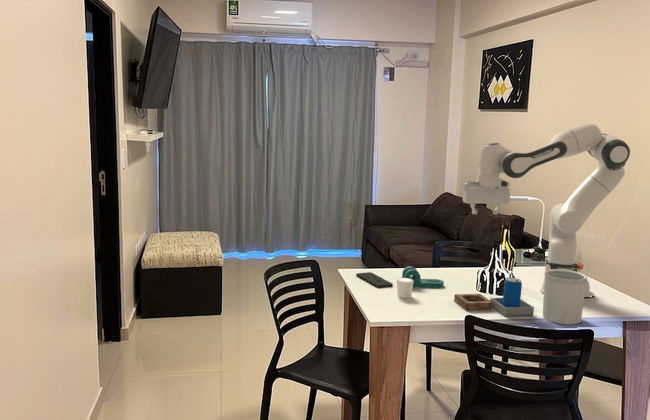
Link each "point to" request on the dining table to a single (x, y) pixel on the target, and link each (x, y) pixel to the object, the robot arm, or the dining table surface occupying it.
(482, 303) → the walnut collar block
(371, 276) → the smart home device
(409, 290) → the shot glass
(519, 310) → the slate tray
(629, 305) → the dining table surface
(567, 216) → the robot arm
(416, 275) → the bracket
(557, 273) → the utensil holder
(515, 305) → the beverage can
